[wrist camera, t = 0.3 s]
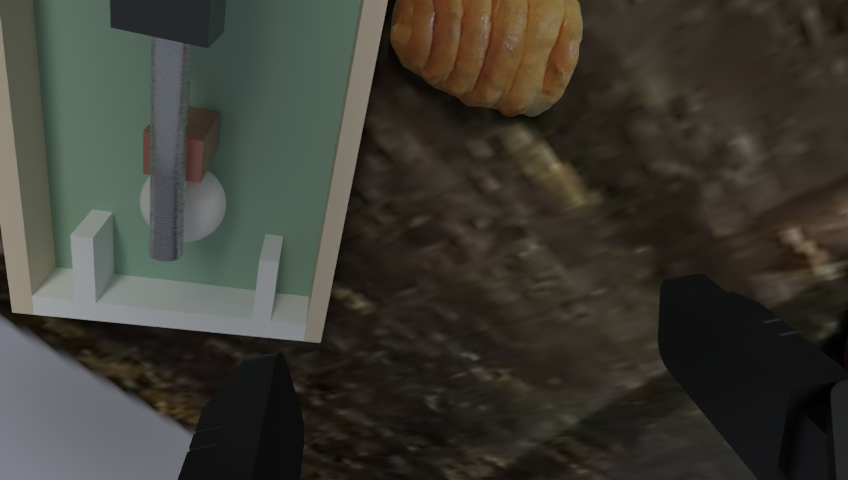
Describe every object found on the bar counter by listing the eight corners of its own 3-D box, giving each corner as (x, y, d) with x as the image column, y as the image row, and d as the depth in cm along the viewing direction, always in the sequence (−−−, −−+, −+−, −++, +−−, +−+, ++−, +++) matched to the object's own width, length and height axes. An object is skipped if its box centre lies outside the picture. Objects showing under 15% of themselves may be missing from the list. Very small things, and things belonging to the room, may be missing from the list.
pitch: (-12, -355, 20) (-214, -513, 13) (419, -208, 23) (454, -264, 16) (47, 270, 32) (-38, 371, 25) (322, 302, 36) (318, 398, 29)
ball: (153, 144, 28) (127, 175, 25) (235, 158, 29) (221, 190, 26) (152, 213, 30) (128, 251, 27) (229, 224, 31) (215, 262, 27)
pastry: (377, 82, 30) (383, 102, 26) (402, -57, 26) (411, -55, 23) (539, 113, 32) (562, 134, 28) (579, -14, 29) (611, -6, 25)
